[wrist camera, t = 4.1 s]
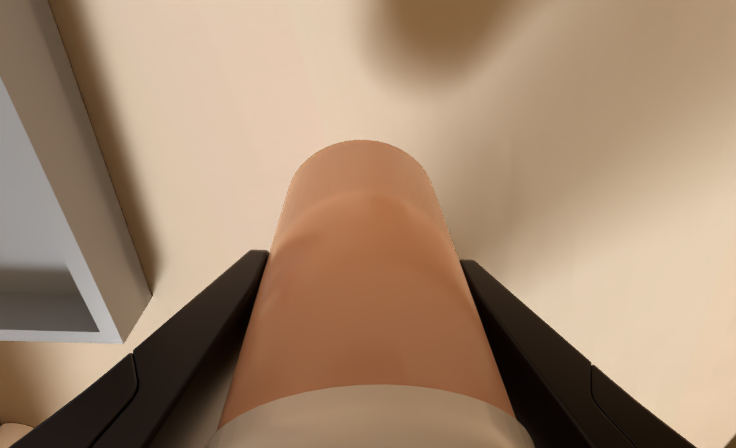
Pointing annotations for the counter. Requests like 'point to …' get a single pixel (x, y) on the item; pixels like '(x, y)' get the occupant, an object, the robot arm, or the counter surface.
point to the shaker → (365, 321)
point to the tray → (57, 199)
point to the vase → (12, 433)
